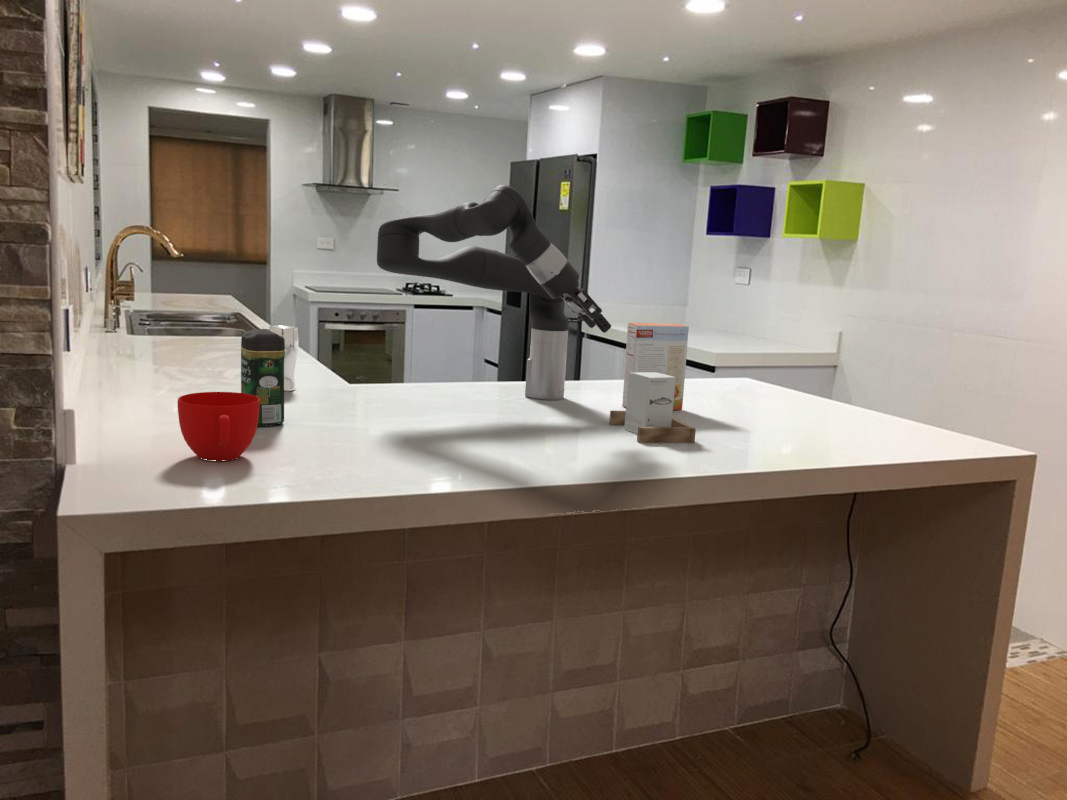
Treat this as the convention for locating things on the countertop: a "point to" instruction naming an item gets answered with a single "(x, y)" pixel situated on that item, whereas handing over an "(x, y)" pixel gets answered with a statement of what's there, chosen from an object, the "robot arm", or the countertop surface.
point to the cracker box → (657, 354)
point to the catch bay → (659, 431)
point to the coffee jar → (264, 373)
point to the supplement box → (649, 400)
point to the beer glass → (288, 352)
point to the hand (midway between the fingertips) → (601, 327)
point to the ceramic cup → (218, 423)
